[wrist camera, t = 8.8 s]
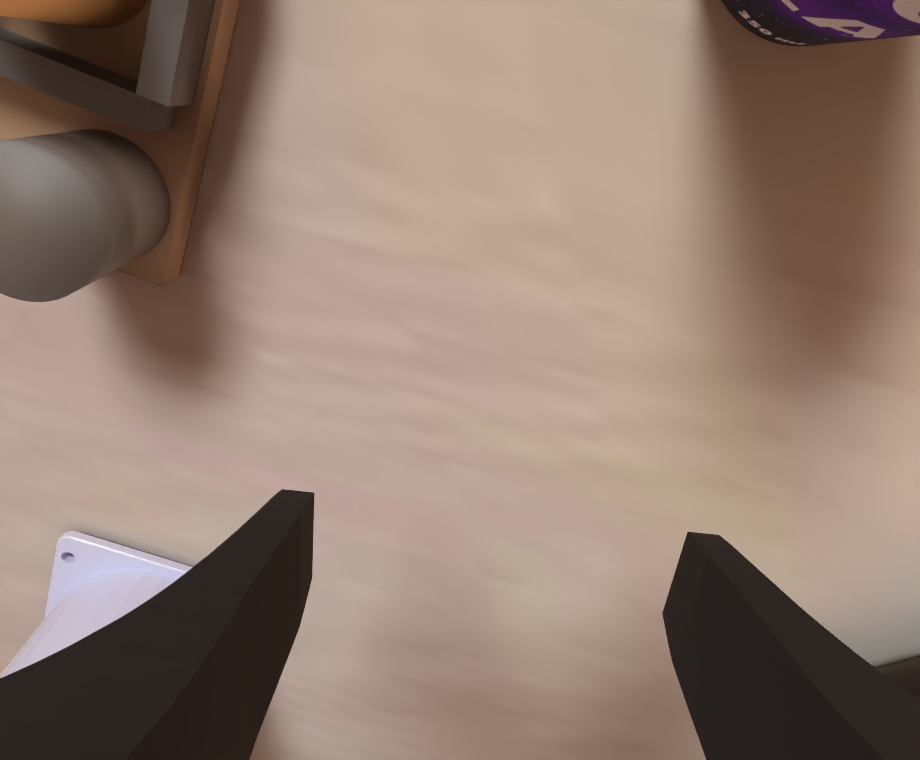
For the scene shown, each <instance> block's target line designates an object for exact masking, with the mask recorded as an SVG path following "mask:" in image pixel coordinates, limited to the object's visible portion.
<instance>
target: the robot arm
mask: <svg viewBox="0 0 920 760" xmlns="http://www.w3.org/2000/svg"><path fill="white" fill-rule="evenodd" d="M313 520H314V493H312V492H302V491H293V490H283V489H282V490H281V491H279V492H278V493H277V494H276V495H274V496H273V497H272V498H271V499H270V500H269V501H268V502H267V503H266V504H265V505H264V506H263V507H262V508H261V509H260V510H259V511H258V512H257V513H255V514H254V515H253V516H252V517H251V518H250V519H249V520H248V521H247V522H246V523H245V524H244V525H242V526H241V527H240V528H239V529H238V530H237V531H236V532H235V533H234V534H232V535H231V536H230V537H229V538H228V539H227V540H225V541H224V542H223V543H222V544H221V545H220V546H218V547H217V548H216V549H215V550H214V551H213V552H211V553H210V554H209V555H208V556H207V557H205V558H204V559H203V560H202V561H200V562H199V563H198V564H196V565H195V566H194V567H190V566H187V565H184V564H181V563H177V562H174V561H171V560H168V559H164V558H161V557H158V556H155V555H151V554H148V553H145V552H142V551H138V550H135V549H132V548H129V547H125V546H122V545H119V544H116V543H112V542H109V541H106V540H103V539H99V538H96V537H93V536H89V535H86V534H83V533H80V532H76V531H68V532H66V533H64V534H63V535H62V536H61V537H60V539H59V540H58V542H57V547H56V552H55V558H54V564H53V570H52V576H51V581H50V587H49V593H48V599H47V605H46V610H45V616H44V621H43V622H42V623H41V624H40V626H39V627H38V628H37V629H36V631H35V632H34V633H33V634H32V636H31V637H30V638H29V639H28V641H27V642H26V643H25V644H24V646H23V647H22V648H21V649H20V651H19V652H18V653H17V655H16V656H15V657H14V658H13V660H12V661H11V662H10V663H9V665H8V666H7V667H6V668H5V670H4V671H3V672H2V673H1V675H0V760H249V759H250V756H251V753H252V750H253V747H254V744H255V741H256V739H257V736H258V733H259V730H260V728H261V725H262V723H263V720H264V718H265V715H266V712H267V710H268V707H269V705H270V702H271V700H272V697H273V694H274V692H275V689H276V687H277V684H278V682H279V679H280V676H281V674H282V671H283V669H284V666H285V664H286V661H287V658H288V656H289V653H290V650H291V648H292V645H293V643H294V640H295V637H296V635H297V632H298V629H299V627H300V623H301V619H302V615H303V612H304V608H305V604H306V600H307V596H308V592H309V588H310V584H311V580H312V559H313ZM68 552H69V553H71V554H73V555H74V556H72V555H70V554H69V553H68ZM663 618H664V623H665V629H666V634H667V639H668V644H669V648H670V653H671V657H672V662H673V665H674V668H675V671H676V674H677V677H678V680H679V683H680V686H681V689H682V692H683V695H684V697H685V700H686V703H687V706H688V709H689V712H690V715H691V717H692V720H693V723H694V726H695V729H696V731H697V734H698V737H699V740H700V743H701V746H702V748H703V751H704V754H705V757H706V760H920V699H919V698H917V697H916V696H914V695H913V694H911V693H910V692H908V691H907V690H906V689H904V688H903V687H901V686H900V685H899V684H897V683H896V682H894V681H893V680H891V679H890V678H889V677H887V676H886V675H884V674H883V673H882V672H880V671H879V670H877V669H876V668H875V667H873V666H872V665H871V664H869V663H868V662H867V661H865V660H864V659H863V658H861V657H860V656H859V655H857V654H856V653H855V652H854V651H852V650H851V649H850V648H849V647H847V646H846V645H845V644H844V643H842V642H841V641H840V640H839V639H837V638H836V637H835V636H834V635H833V634H831V633H830V632H829V631H828V630H826V629H825V628H824V627H823V626H822V625H820V624H819V623H818V622H817V621H816V620H814V619H813V618H812V617H811V616H810V615H809V614H807V613H806V612H805V611H804V610H803V609H802V608H801V607H799V606H798V605H797V604H796V603H795V602H794V601H793V600H791V599H790V598H789V597H788V596H787V595H786V594H785V593H784V592H783V591H781V590H780V589H779V588H778V587H777V586H776V585H775V584H774V583H773V582H771V581H770V580H769V579H768V578H767V577H766V576H765V575H764V574H763V573H762V572H760V571H759V570H758V569H757V568H756V567H755V566H754V565H753V564H752V563H751V562H750V561H748V560H747V559H746V558H745V557H744V556H743V555H742V554H741V553H740V552H738V551H737V550H736V549H735V548H734V547H733V546H732V545H730V544H729V543H728V542H727V541H726V540H724V539H723V538H722V537H721V536H719V535H713V534H703V533H694V532H688V533H687V536H686V539H685V542H684V545H683V549H682V552H681V555H680V558H679V562H678V565H677V568H676V571H675V575H674V578H673V581H672V584H671V587H670V591H669V594H668V597H667V600H666V604H665V607H664V610H663Z"/></svg>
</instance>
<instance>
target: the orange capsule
mask: <svg viewBox="0 0 920 760" xmlns="http://www.w3.org/2000/svg"><path fill="white" fill-rule="evenodd" d="M147 1H148V0H0V16H5V17H13V18H20V19H28V20H35V21H43V22H50V23H58V24H65V25H73V26H80V27H88V28H110V27H114V26H118V25H121V24H123V23H125V22H127V21H129V20H130V19H131V18H133V17H134V16H135V15H136V14H137V13H138V12H139V11H140V10H141V9H142V8H143V7H144V5H145V4H146V2H147Z"/></svg>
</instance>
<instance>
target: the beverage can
mask: <svg viewBox="0 0 920 760" xmlns="http://www.w3.org/2000/svg"><path fill="white" fill-rule="evenodd" d="M722 2H723V3H724V5H725V6H726V8H727V9H728V10H729V12H730V13H731V14H732V15H733V16H734V18H735V19H736V20H737V21H738V22H739V23H741V24H742V25H743V26H744V27H745V28H747V29H748V30H749V31H751V32H752V33H754V34H756V35H757V36H760V37H762V38H764V39H766V40H769V41H772V42H775V43H779V44H783V45H789V46H812V45H822V44H833V43H843V42H853V41H863V40H873V39H884V38H894V37H904V36H914V35H920V0H722Z"/></svg>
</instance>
